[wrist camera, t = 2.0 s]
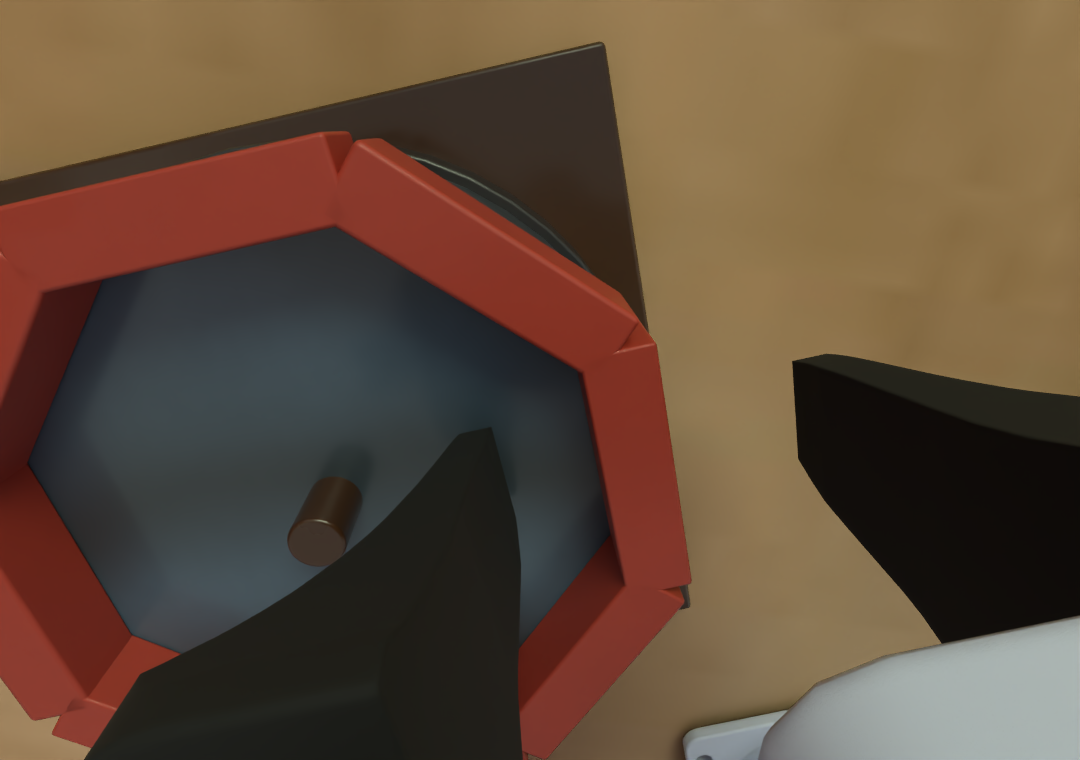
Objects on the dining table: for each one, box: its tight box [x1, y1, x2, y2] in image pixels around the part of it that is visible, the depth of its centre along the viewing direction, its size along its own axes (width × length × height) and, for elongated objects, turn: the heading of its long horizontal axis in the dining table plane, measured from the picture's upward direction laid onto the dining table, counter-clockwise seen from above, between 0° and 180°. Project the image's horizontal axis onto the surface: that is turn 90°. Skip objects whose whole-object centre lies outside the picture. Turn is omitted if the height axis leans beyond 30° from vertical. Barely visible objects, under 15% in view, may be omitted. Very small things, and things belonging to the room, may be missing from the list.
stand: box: [0, 42, 690, 654], centre depth 13 cm, size 14×14×5 cm
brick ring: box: [0, 131, 692, 760], centre depth 11 cm, size 12×12×2 cm
